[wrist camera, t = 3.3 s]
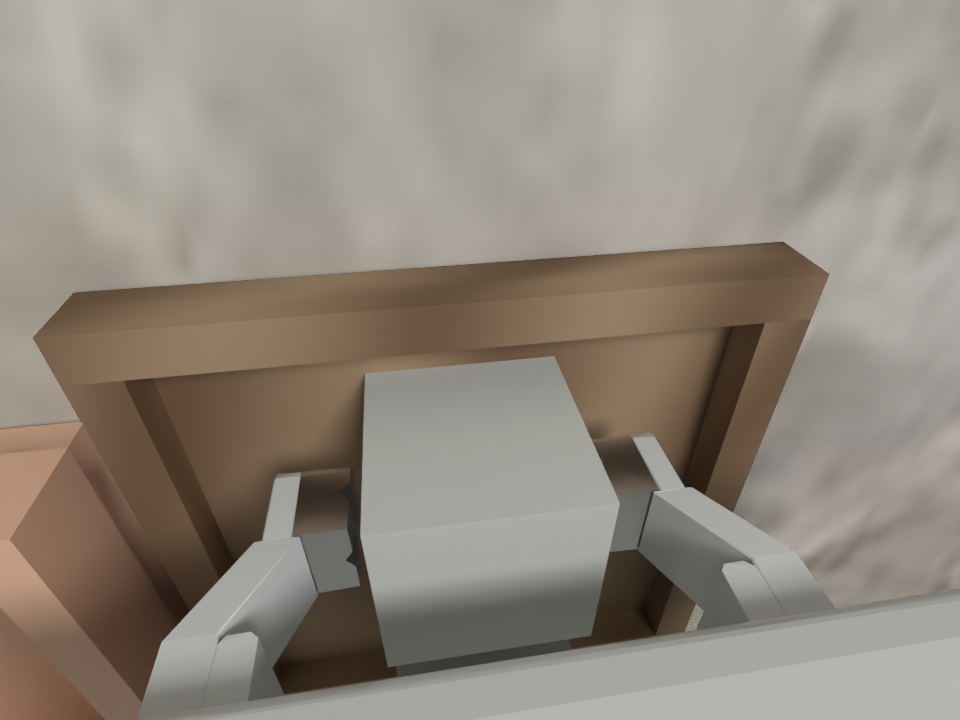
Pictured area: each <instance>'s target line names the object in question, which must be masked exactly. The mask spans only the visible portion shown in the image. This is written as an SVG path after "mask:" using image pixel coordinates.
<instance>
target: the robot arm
mask: <svg viewBox="0 0 960 720" xmlns="http://www.w3.org/2000/svg"><path fill="white" fill-rule="evenodd" d="M592 442H593V444H594V446H595V448H596V451H597V453H598V455H599V457H600V460H601V462H602V464H603V466H604V469H605V471H606V473H607V475H608V477H609V480H610V482H611V484H612V486H613V489H614V491H615V493H616V495H617V498H618V500H619V502H620V505H619V510H618V515H617V519H616V524H615V528H614V533H613V537H612V542H611V547H610V551H609V552H614V551H623V550H632V549H638V551H639V552H640V553H641V554H642V555H643V556H644V557H645V558H647V559H648V560H649V561H650V562H651V563H652V564H653V565H654V566H655V567H656V568H658V569H659V570H660V571H661V572H662V573H663V574H664V575H665V576H666V577H667V578H669V579H670V580H671V581H672V582H673V583H674V584H675V585H676V586H677V587H679V588H680V589H681V590H682V591H683V592H684V593H685V594H686V595H687V596H688V597H690V598H691V599H692V600H693V601H694V602H695V603H696V604H697V605H698V606H699V607H701V608H702V609H703V610H704V613H703V615H702V617H701V620H700V622H699V624H698V627H697V629H696V630H694V631H688V632H682V633H675V634H669V635H663V636H656V637H650V638H644V639H638V640H631V641H625V642H619V643H612V644H606V645H600V646H593V647H587V648H581V649H574V650H568V651H562V652H555V653H549V654H543V655H536V656H530V657H524V658H518V659H511V660H505V661H499V662H493V663H486V664H480V665H474V666H467V667H461V668H455V669H449V670H442V671H436V672H430V673H423V674H417V675H411V676H404V677H398V678H392V679H385V680H379V681H373V682H366V683H360V684H354V685H347V686H341V687H335V688H328V689H322V690H316V691H309V692H303V693H297V694H290V695H284V693H283V690H282V688H281V686H280V684H279V682H278V679H277V677H276V675H275V673H274V671H273V669H272V668H273V666H274V664H275V663H276V661H277V660H278V658H279V656H280V655H281V653H282V652H283V650H284V649H285V647H286V645H287V644H288V642H289V641H290V639H291V637H292V636H293V634H294V633H295V631H296V630H297V628H298V626H299V625H300V623H301V622H302V620H303V618H304V617H305V615H306V614H307V612H308V611H309V609H310V607H311V606H312V604H313V603H314V601H315V599H316V598H317V596H318V594H317V593H321V592H327V591H333V590H339V589H345V588H351V587H357V586H360V580H361V553H360V548H359V544H358V543H359V541H360V540H361V537H360V528H361V506H360V499H359V494H358V493H357V492H355V481H356V479H355V475H354V471H353V468H352V467H347V468H335V469H324V470H313V471H303V472H295V473H284V474H277V476H276V478H275V480H274V483H273V488H272V493H271V498H270V502H269V507H268V512H267V517H266V522H265V527H264V532H263V537H262V541H258V542H254V543H253V544H252V545H251V546H250V547H249V548H248V549H247V550H246V551H245V552H244V554H243V555H242V556H241V557H240V558H239V559H238V560H237V561H236V562H235V563H234V564H233V565H232V567H231V568H230V569H229V570H228V571H227V572H226V573H225V574H224V575H223V576H222V577H221V578H220V580H219V581H218V582H217V583H216V584H215V585H214V586H213V587H212V588H211V589H210V590H209V591H208V593H207V594H206V595H205V596H204V597H203V598H202V599H201V600H200V601H199V602H198V603H197V604H196V605H195V607H194V608H193V609H192V610H191V611H190V612H189V613H188V614H187V615H186V616H185V617H184V618H183V620H182V621H181V622H180V623H179V624H178V625H177V626H176V627H175V628H174V629H173V630H172V631H171V633H170V634H169V635H168V636H167V637H166V638H165V639H164V640H163V641H162V642H161V645H160V648H159V652H158V655H157V658H156V661H155V664H154V667H153V670H152V673H151V676H150V680H149V683H148V686H147V689H146V692H145V695H144V698H143V701H142V704H141V708H140V711H139V714H138V717H137V719H132V720H960V589H953V590H947V591H941V592H935V593H928V594H922V595H916V596H909V597H903V598H897V599H890V600H884V601H878V602H871V603H865V604H859V605H852V606H846V607H840V608H835V607H834V605H833V604H832V603H831V601H830V600H829V598H828V597H827V596H826V594H825V593H824V591H823V590H822V588H821V587H820V586H819V584H818V583H817V581H816V580H815V579H814V577H813V576H812V574H811V573H810V571H809V570H808V569H807V567H806V566H805V564H804V563H803V562H802V560H801V559H800V557H799V556H798V554H797V553H796V552H795V551H793V550H792V549H790V548H788V547H787V546H785V545H784V544H782V543H780V542H779V541H777V540H776V539H774V538H772V537H771V536H769V535H768V534H766V533H764V532H763V531H761V530H760V529H758V528H756V527H755V526H753V525H752V524H750V523H748V522H747V521H745V520H744V519H742V518H740V517H739V516H737V515H736V514H734V513H732V512H731V511H729V510H728V509H726V508H724V507H723V506H721V505H720V504H718V503H716V502H715V501H713V500H712V499H710V498H708V497H707V496H705V495H704V494H702V493H700V492H699V491H697V490H696V489H694V488H692V487H687V488H685V487H684V485H683V483H682V482H681V480H680V478H679V477H678V475H677V473H676V472H675V470H674V468H673V466H672V465H671V463H670V461H669V460H668V458H667V456H666V455H665V453H664V451H663V450H662V448H661V446H660V445H659V443H658V441H657V440H656V438H655V436H654V435H653V434H651V433H650V432H649V433H641V434H632V435H627V436H626V435H624V436H616V437H608V438H599V439H592Z"/></svg>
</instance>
